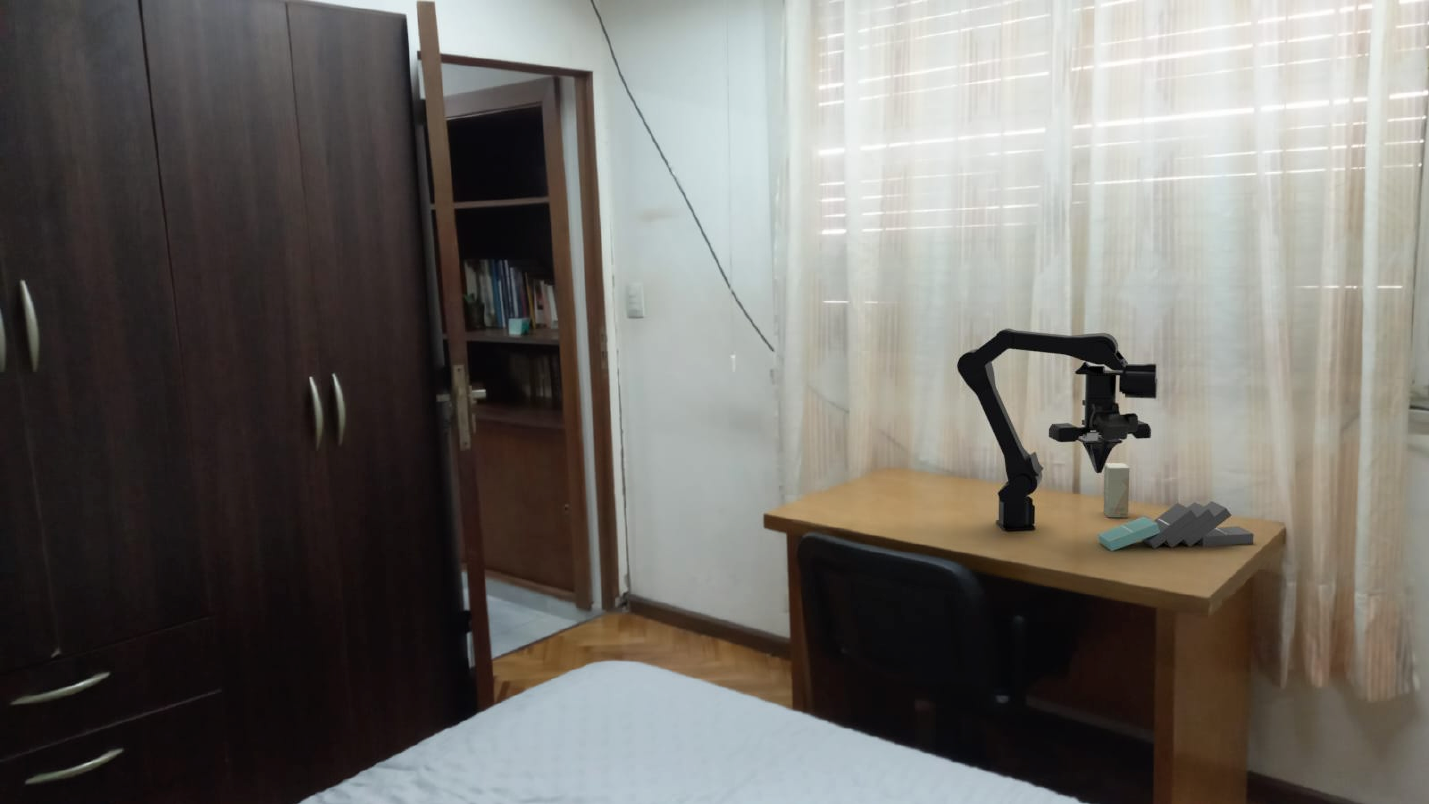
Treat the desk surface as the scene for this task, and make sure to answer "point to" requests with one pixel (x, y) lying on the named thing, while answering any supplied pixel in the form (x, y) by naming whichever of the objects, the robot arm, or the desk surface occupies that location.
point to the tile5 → (1226, 537)
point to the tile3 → (1191, 524)
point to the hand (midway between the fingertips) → (1098, 472)
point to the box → (1116, 489)
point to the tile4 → (1208, 523)
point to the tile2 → (1170, 524)
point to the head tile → (1128, 533)
